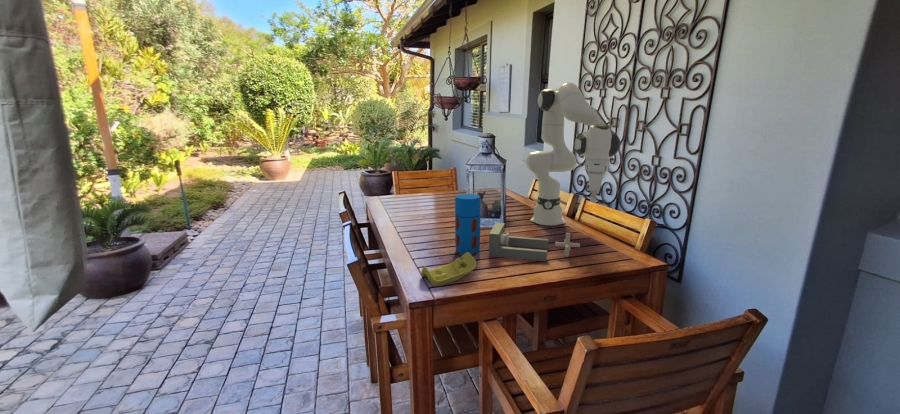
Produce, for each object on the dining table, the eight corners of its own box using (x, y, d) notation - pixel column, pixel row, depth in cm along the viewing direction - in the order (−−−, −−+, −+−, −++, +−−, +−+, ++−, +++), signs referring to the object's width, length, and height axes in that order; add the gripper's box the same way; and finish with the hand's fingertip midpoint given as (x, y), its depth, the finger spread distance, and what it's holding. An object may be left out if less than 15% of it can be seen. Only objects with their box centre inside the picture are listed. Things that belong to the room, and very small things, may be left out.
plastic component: (435, 283, 139) (422, 263, 145) (432, 296, 143) (419, 277, 149) (481, 266, 149) (466, 249, 155) (476, 279, 153) (462, 262, 159)
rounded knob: (493, 243, 180) (493, 229, 179) (509, 244, 179) (509, 230, 177) (491, 247, 174) (491, 233, 173) (507, 249, 173) (507, 235, 171)
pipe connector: (580, 260, 164) (581, 237, 161) (555, 259, 166) (556, 236, 163) (577, 252, 173) (579, 230, 171) (553, 251, 175) (555, 229, 173)
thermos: (464, 258, 168) (464, 200, 162) (450, 250, 176) (450, 195, 170) (484, 252, 174) (485, 197, 167) (470, 246, 182) (470, 192, 176)
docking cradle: (495, 243, 186) (495, 222, 183) (548, 247, 179) (549, 226, 177) (488, 255, 170) (489, 233, 168) (546, 261, 164) (547, 238, 161)
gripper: (589, 163, 169) (586, 195, 172) (587, 168, 150) (584, 203, 153) (605, 164, 167) (602, 196, 170) (605, 169, 148) (601, 205, 151)
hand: (593, 199), depth 161 cm, fingers open, 8 cm apart
